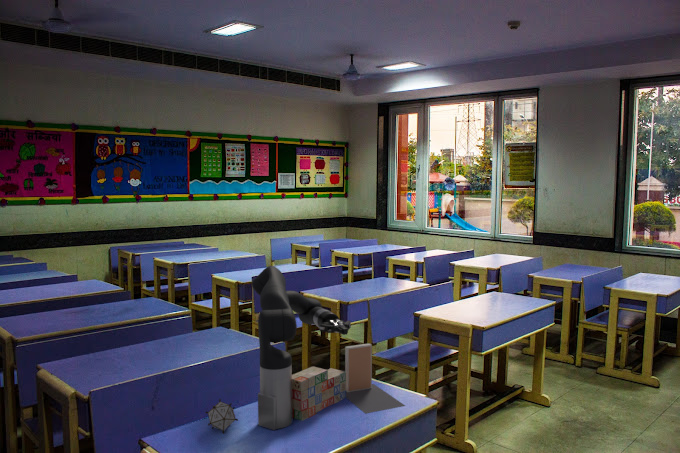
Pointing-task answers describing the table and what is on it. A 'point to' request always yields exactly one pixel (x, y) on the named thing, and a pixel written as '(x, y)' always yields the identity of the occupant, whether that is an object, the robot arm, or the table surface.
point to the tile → (358, 367)
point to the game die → (221, 416)
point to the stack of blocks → (316, 391)
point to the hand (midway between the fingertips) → (345, 331)
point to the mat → (372, 400)
